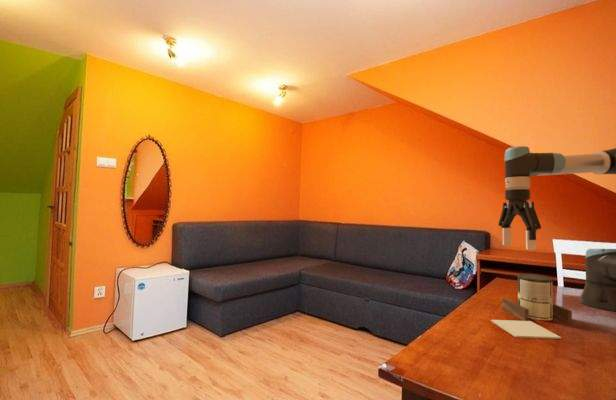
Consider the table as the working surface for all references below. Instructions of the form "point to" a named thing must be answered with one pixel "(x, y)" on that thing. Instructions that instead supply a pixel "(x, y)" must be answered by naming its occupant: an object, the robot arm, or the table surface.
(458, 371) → the table surface
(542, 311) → the coffee can
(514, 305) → the wooden bars
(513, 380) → the table surface
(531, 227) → the robot arm
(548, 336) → the mat
